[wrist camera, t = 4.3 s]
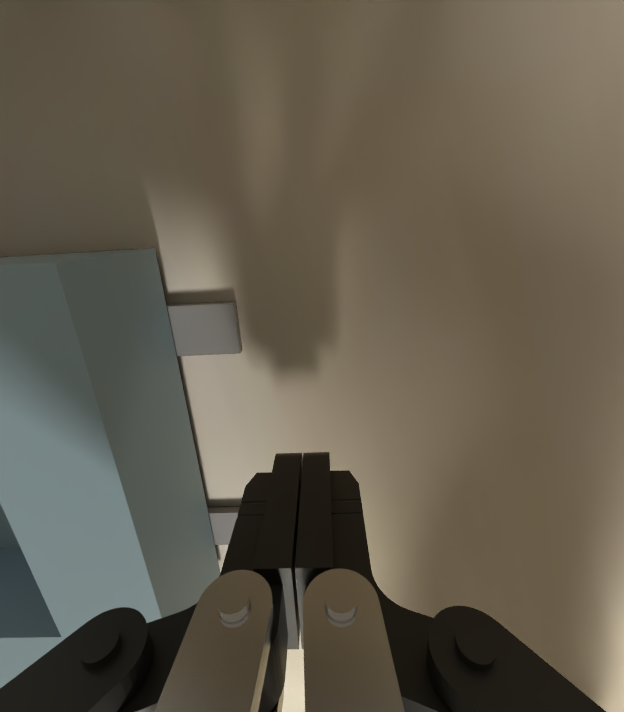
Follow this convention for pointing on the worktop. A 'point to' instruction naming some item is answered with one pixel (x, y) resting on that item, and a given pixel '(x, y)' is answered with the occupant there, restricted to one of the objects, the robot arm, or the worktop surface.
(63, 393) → the socket block
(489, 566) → the worktop surface
